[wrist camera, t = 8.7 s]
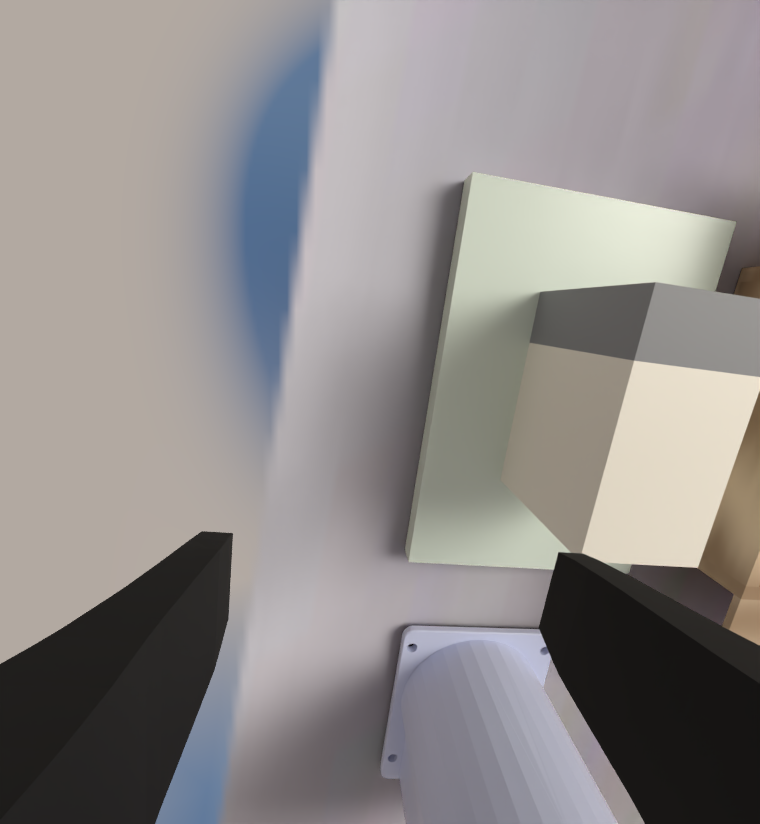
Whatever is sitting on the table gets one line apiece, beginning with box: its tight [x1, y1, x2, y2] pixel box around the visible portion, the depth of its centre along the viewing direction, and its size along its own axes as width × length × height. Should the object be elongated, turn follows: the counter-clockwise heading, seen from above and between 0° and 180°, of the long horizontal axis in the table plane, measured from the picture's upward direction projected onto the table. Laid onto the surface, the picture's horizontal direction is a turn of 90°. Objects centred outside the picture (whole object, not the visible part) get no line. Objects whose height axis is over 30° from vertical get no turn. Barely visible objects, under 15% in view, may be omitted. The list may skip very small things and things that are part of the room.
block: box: [500, 282, 760, 568], centre depth 14 cm, size 8×4×6 cm, turn 173°
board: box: [405, 172, 736, 573], centre depth 18 cm, size 16×11×1 cm
